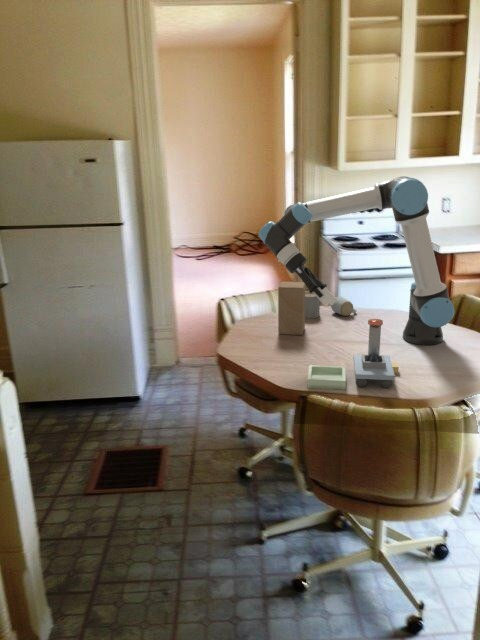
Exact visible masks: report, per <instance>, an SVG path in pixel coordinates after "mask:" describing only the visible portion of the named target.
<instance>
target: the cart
mask: <svg viewBox="0 0 480 640" xmlns="http://www.w3.org/2000/svg"><path fill="white" fill-rule="evenodd" d="M353 366H354V367H353V369H354V376H355V384H356V386H357V387H358V388H364V387H366V386H367V383H368V380H381V381H380V382H381V387H382V388H384V389H391V388H392V387H393V385H394V382H393V381H395V377H396V375H398V374H399V364H398V362H393V361H392V360H391V356H390V355H389V354H379V362H368V353H367V354H366V353H365V354H364V353H363V354H362V353H361V354H360V353H354V354H353ZM395 374H396V375H395Z"/></svg>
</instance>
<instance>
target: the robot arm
mask: <svg viewBox="0 0 480 640" xmlns="http://www.w3.org/2000/svg"><path fill="white" fill-rule="evenodd" d="M428 201H429V193H428V189H427V187H426V186H425V185H424V182H422V181H421V180H419V179H417V178H414V177H409V176H397V177H395V178H391V179H388V180H386V181H382V182H378V183H375V184H374V186H373V187H368V188H364V189H359V190H354V191H351V192H347V193H342V194H337V195H334V196H329V197H325V198H320V199H315V200H311V201H307V202H303V203H302V202H300V201H299V202H297V203H292V204H290V205H288V206H287V207H286V209H285V211H284V215H283V216H282V217H281V218H280V219H279V220H278V221H277V222H274V221H271V220H270V221H268V222H267V223H266V224H264V225H263V226H262V227H261V228H260V229H259V231H258V238H260V240H261V241H262V242H263V244H264V245H265V246H266V247H267V248H268V250H270V251H271V253H272V254H273V255H274V256H275V257H276V258H277V262H278V263H281V264H282V265H283V266H284V267H285V268H286V270H287V271H288V272H289V273H290V274H297V275H298V277H299V278H300V280H301V282H304V283H305V287H306V288H307V289H308V291H309V292H310V293H312V292H313V293H314V294H315V295H316V297H317V298H318V299H319V300H320V303H322V305H323V306H324V307H327V306H329V304H330V306H331V305H333V304H334V303H335V302H336V301H338V300H337V299H336V297H335V295H334V294H332V292H330V289H328V288H327V285H328V284H326V283H323V281H321V280H320V278H318V277H317V276H316V274H315V273H314V272H312V271H311V269H310V268H309V267H307V266H306V267H305V266H304V265H305V264H306V263H307V257H305V256H304V255H303V253H302V252H300V250H299V249H298V248H297V246H296V245H295V243H293V242H292V241H291V239H292V238H293V236H294V235H296V234H297V233H298V232H299V231H300V230H301V229H302V228H303V227H304V226H306V225H307V224H308V223H312V222H316V221H317V222H318V221H322V220H327V219H331V218H335V217H340V216H345V215H349V214H354V213H359V212H363V211H368V210H372V209H379V210H380V211H381V210H382V211H383V210H386V209H392V213H393V216H394V217H393V218H394V220H395V222H396V223H397V224H399V225H400V227H401V230H402V233H403V234H402V235H403V239H404V243H405V247H406V251H407V255H408V259H409V263H410V266H411V270H412V275H413V280H414V281H413V282H412V283H411V285H410V290H409V293H410V294H409V295H410V296H409V307H408V320H407V321H406V324H405V326H404V329H403V332H402V339H403V340H404V341H406V342H409V343H411V344H415V345H421V346H432V345H438V344H441V343H442V342H443V340H444V334H443V329H442V327H444V326H446V325H447V324H449V323H451V320H453V318H454V316H455V307H454V304H453V302H452V300H451V299H450V296H449V295H450V294H449V291H448V290H449V289H448V288H447V285H446V284H445V283H443V282H442V281H441V277H440V272H439V268H438V264H437V260H436V256H435V251H434V247H433V246H434V245H433V243H432V237H431V234H430V229H429V225H428V221H427V217H428V215H429V214H430V210H429V204H428Z"/></svg>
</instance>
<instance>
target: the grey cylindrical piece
mask: <svg viewBox="0 0 480 640" xmlns="http://www.w3.org/2000/svg"><path fill="white" fill-rule="evenodd" d="M309 291H310V290H305V319H315V318H318V317H320V307H321V306H320V304H321V301H320V300H319V299H318V298H317V297H316V295H315V294H314V293H313V292H314V291H313V292H312V293H310V292H309Z"/></svg>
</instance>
